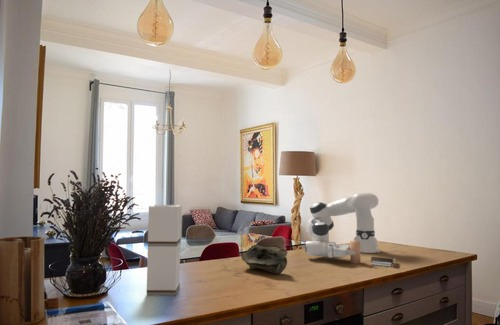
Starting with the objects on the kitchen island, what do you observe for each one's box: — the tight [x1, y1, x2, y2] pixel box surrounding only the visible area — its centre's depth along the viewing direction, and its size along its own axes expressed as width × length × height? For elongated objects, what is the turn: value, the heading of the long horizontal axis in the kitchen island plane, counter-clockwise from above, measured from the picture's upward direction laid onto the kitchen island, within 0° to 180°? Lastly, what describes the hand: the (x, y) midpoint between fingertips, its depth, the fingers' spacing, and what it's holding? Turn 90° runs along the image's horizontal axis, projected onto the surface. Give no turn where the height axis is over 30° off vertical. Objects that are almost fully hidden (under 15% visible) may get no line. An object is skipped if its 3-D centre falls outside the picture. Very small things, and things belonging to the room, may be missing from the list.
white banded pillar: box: [146, 204, 182, 297], centre depth 153 cm, size 11×11×35 cm
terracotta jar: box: [349, 240, 362, 265], centre depth 213 cm, size 6×6×12 cm
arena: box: [370, 256, 397, 269], centre depth 210 cm, size 14×14×2 cm
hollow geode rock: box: [241, 243, 289, 275], centre depth 191 cm, size 28×13×15 cm
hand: (356, 251), depth 213 cm, fingers open, 8 cm apart
